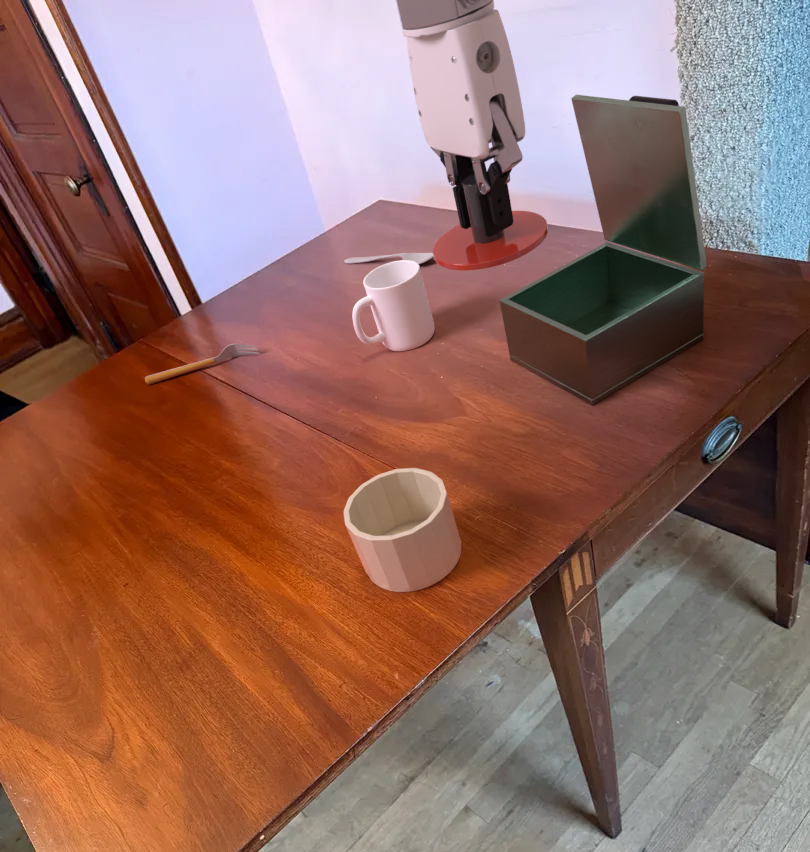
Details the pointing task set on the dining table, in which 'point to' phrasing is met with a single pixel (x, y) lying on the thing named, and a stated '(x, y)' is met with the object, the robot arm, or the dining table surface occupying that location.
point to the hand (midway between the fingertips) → (486, 224)
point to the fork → (202, 363)
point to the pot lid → (487, 238)
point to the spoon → (405, 256)
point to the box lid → (643, 175)
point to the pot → (403, 529)
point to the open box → (604, 320)
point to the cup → (396, 306)
